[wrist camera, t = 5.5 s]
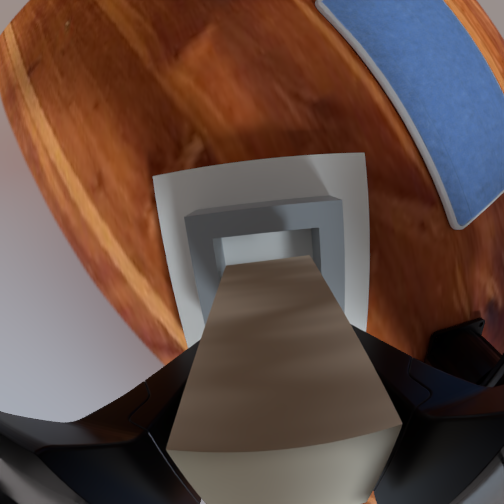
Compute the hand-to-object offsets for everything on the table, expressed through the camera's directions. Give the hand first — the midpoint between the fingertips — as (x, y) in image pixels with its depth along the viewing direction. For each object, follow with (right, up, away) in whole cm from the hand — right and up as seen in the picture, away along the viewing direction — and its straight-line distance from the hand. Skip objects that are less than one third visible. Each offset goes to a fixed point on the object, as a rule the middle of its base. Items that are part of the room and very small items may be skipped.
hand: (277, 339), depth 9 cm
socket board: (0, +2, +8) cm, 9 cm away
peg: (0, +1, +3) cm, 4 cm away
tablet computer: (+14, +15, +5) cm, 21 cm away
